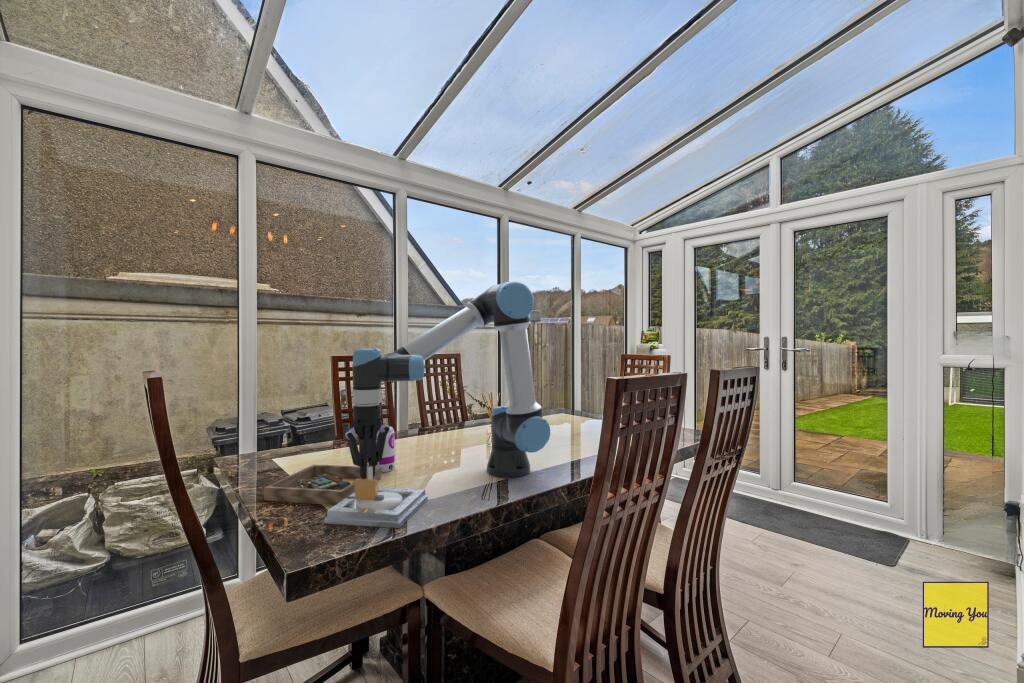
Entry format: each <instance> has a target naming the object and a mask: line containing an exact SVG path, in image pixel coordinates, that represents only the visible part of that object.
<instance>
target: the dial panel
mask: <svg viewBox="0 0 1024 683" xmlns="http://www.w3.org/2000/svg"><path fill="white" fill-rule="evenodd" d="M377 487H378V492H394V493H398V494H400V495H401V496H402V503H401V504H400V505H398V506H397V507H396V508H395V509H394V510H378V509H368V508H365V509H361V508H356V500H357V499H356V498H355V492H354V493H353V494H351V495H350V496H348V497H347V498H345V499H344V500H342V501H341V502H339V503H338V504H336V505H332V507H330V508H329V509H328V510H327V512H326V513H327V514H326V517H325V518H324V520H323V521H324V524H329V525H346V526H360V527H361V526H362V527H377V528H379V527H380V528H391V529H393V528H394V529H400V528H401V527H402V526H403V525H404V524H405V523H406V522H407V521H408V520H409V519H410V518H412V516H414V514H415V513H416V512H418V510H419V509H420V508H421V507H422V506H424V504H425V503H426V502H427V501H428V497H429V495H426V488H425V489H424V488H423V489H422V488H421V489H420V488H406V487H404V488H402V487H382V486H377Z"/></svg>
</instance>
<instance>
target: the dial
mask: <svg viewBox="0 0 1024 683" xmlns="http://www.w3.org/2000/svg"><path fill="white" fill-rule="evenodd" d="M354 482H355V498H356V499H357V500H356V508H361V509H365V508H368V509H378V510H394V509H395V508H396V507H397V506H398V505H400V504H401V503H402V496H401V495H400V494H398V493H394V492H378V487H379V486H378V482H377V480H373V479H356V478H355V479H354Z"/></svg>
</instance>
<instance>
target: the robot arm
mask: <svg viewBox="0 0 1024 683" xmlns="http://www.w3.org/2000/svg"><path fill="white" fill-rule="evenodd" d="M532 292H533V291H531V289H530V288H529V287H528V286H527V285H525V284H524V282H523V283H522V282H519V281H516V280H515V281H514V280H513V281H507V282H503V283H499V284H496V285H492V286H490V287H488V288H486V289H484V291H483V292H481V293H480V294H478V295H477V296H475V297H473V299H470V300H469V301H468V302H467V303H466V304H465V307H464V308H462V309H461V310H459V311H458V312H456V313H455V314H453V315H451V316H449V317H448V318H446V319H445V320H443V321H441V322H439V323H438V324H436V325H435V326H433V327H432V328H430V329H428V330H427V331H425V332H423V333H422V334H420V335H418V337H415V338H414V339H412V340H410V341H409V342H407V343H405V344H404V345H402V346H401V347H399V348H398V349H396V350H394V351H393V352H391V353H387V354H384V355H383V354H382V350H381V349H380V348H357V349H355V350H354V351H353V353H352V365H351V366H352V403H353V404H354V405H353V406H352V419H353V422H352V425H351V429H350V430H348V431H345V432H343V436H344V437H345V439H346V440H347V444H348V449H349V451H350V453H349V454H350V455H351V456H350V457H351V460H352V463H353V466H360V477H361V478H362V479H373V476H375V466H376V465H377V464H378V463H377V462H380V461H381V460H382V456H383V451H384V446H385V441H386V435H387V433H388V431H389V429H390V428H389V427H387V426H388V425H384V424H383V421H382V419H381V418H382V405H381V404H380V403H381V402H382V383H388V382H392V383H393V382H413V381H414V382H415V381H421V380H422V379H423V378H424V375H425V372H426V371H425V370H426V369H425V367H426V366H425V365H426V364H425V361H426V360H428V359H429V358H431V357H432V356H434V355H435V354H437V353H438V352H440V351H442V350H443V349H444V348H446V347H448V346H450V345H451V344H453V343H454V342H456V341H458V340H459V339H461V338H462V337H463V336H465V335H467V334H468V333H471V331H473V330H475V329H476V328H484V327H485V326H486V325H488V324H491V323H493V326H494V328H495V329H496V330H498V331H499V334H500V335H499V336H500V344H501V351H502V357H503V365H504V366H503V367H504V375H505V380H506V381H505V382H506V388H507V395H508V404H509V405H502V406H501V405H500V406H494V407H493V408H492V409H491V416H490V419H491V422H490V423H491V452H490V455H489V458H488V461H487V464H486V473H487V474H488V475H489V476H493V477H496V478H503V479H504V478H520V477H524V476H526V475H529V474H530V473H531V464H530V460H529V457H528V454H527V453H530V454H531V453H537V452H539V451H541V450H542V449H544V448H545V446H546V445H547V443H548V442H549V440H550V437H551V426H550V423H549V422H548V421H547V420H546V418H544V415H543V411H542V409H543V408H542V405H540V404H539V402H537V400H536V393H535V384H534V377H533V376H534V375H533V369H532V360H531V353H530V347H529V337H528V330H527V329H528V327H529V326H530V324H531V315H530V314H531V313H532V311H533V310H534V307H535V306H534V305H535V297H534V294H533V293H532ZM378 431H379V434H378V438H377V433H378ZM356 436H357V439H358V440H357V439H356ZM376 440H377V443H376ZM357 442H358V443H357Z"/></svg>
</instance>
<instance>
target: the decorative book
mask: <svg viewBox="0 0 1024 683" xmlns="http://www.w3.org/2000/svg"><path fill="white" fill-rule="evenodd" d="M297 484H299V485H298V486H301V487H302V488H310V489H329V490H342V489H343V488H345V487H347V486H348V485H350V484H351V482H349V481H347V480H345V479H344V478H339V477H336V476H335V477H332V476H330V475H327V474H323V475H320V476H315V477H313V478H311V479H304V480H299V481H297Z"/></svg>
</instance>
